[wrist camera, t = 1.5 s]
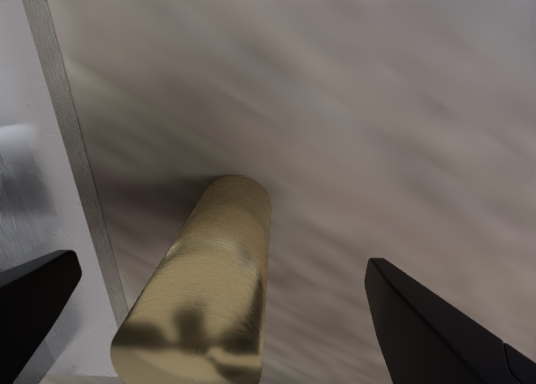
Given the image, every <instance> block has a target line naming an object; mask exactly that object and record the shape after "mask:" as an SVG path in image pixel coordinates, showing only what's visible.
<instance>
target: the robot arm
mask: <svg viewBox="0 0 536 384" xmlns="http://www.w3.org/2000/svg"><path fill="white" fill-rule="evenodd" d="M81 277H82V269H81V266H80V263H79V260H78V257H77V254H76V252H75V251H73V250H64V249H60V250H56V251H54V252H51V253H49V254H46V255H44V256H41V257H39V258H36V259H33V260H31V261H28V262H26V263H23V264H21V265H18V266H16V267H13V268H11V269H8V270H6V271H3V272H0V384H13V383H14V381H15V380H16V379H17V377H18V376H19V374H20V373H21V371H22V370H23V369H24V367H25V366H26V364H27V363H28V362H29V360H30V359H31V357H32V356H33V354H34V353H35V352H36V350H37V349H38V347H39V346H40V345H41V343H42V342H43V340H44V339H45V337H46V336H47V335H48V333H49V332H50V330H51V329H52V327H53V326H54V324H55V322H56V321H57V319H58V318H59V316H60V314H61V312H62V311H63V309H64V307H65V306H66V304H67V302H68V300H69V299H70V297H71V295H72V293H73V292H74V290H75V288H76V287H77V285H78V283H79V281H80V280H81ZM365 290H366V294H367V298H368V302H369V307H370V311H371V315H372V319H373V324H374V328H375V332H376V336H377V339H378V342H379V345H380V348H381V351H382V354H383V356H384V359H385V362H386V365H387V368H388V371H389V373H390V376H391V379H392V382H393V384H536V363H535V362H533V361H532V360H530V359H529V358H527V357H526V356H525V355H523V354H522V353H520V352H519V351H517V350H516V349H514V348H513V347H512V346H510V345H509V344H507V343H503V341H502V340H501V339H500V338H498V337H497V336H496V335H494V334H493V333H491V332H490V331H488V330H487V329H485V328H484V327H483V326H481V325H480V324H478V323H477V322H475V321H474V320H472V319H471V318H470V317H468V316H467V315H465V314H464V313H462V312H461V311H459V310H458V309H457V308H455V307H454V306H452V305H451V304H449V303H448V302H446V301H445V300H444V299H442V298H441V297H439V296H438V295H436V294H435V293H433V292H432V291H431V290H429V289H428V288H426V287H425V286H423V285H422V284H420V283H419V282H418V281H416V280H415V279H413V278H412V277H410V276H409V275H407V274H406V273H405V272H403V271H402V270H400V269H399V268H397V267H396V266H394V265H393V264H392V263H390V262H389V261H387V260H386V259H384V258H370V259H369V260H368V264H367V269H366V275H365Z"/></svg>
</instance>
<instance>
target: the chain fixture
mask: <svg viewBox="0 0 536 384" xmlns="http://www.w3.org/2000/svg"><path fill="white" fill-rule="evenodd" d="M60 249H64V250H73V251H75V252H76V254H77V257H78V260H79V263H80V266H81V269H82V277H81V280H80V281H79V283H78V285H77V287H76V288H75V290H74V292H73V293H72V295H71V297H70V299H69V300H68V302H67V304H66V306H65V307H64V309H63V311H62V312H61V314H60V316H59V318H58V319H57V321H56V322H55V324H54V326H53V327H52V329H51V330H50V332H49V333H48V335H47V336H46V337H45V339H44V340H43V342H42V343H41V345H40V346H39V347H38V349H37V350H36V352H35V353H34V354H33V356H32V357H31V359H30V360H29V362H28V363H27V364H26V366H25V367H24V369H23V370H22V371H21V373H20V374H19V376H18V377H17V379H16V380H15V381H14V383H13V384H39V383H40V381H41V380H42V379H43V377H44V376H45V375H46V374H63V375H87V376H111V377H119V376H118V375H117V373H116V371H115V370H114V367H113V365H112V362H111V358H110V347H111V342H112V340H113V337H114V335H115V334H116V332H117V331H118V329H119V328H120V326H121V324H122V323H123V321H124V320H125V318H126V316H127V315H128V311H127V307H126V303H125V299H124V296H123V292H122V288H121V284H120V280H119V277H118V273H117V269H116V265H115V261H114V258H113V254H112V250H111V246H110V242H109V239H108V235H107V231H106V227H105V223H104V220H103V216H102V212H101V208H100V204H99V201H98V197H97V193H96V189H95V185H94V182H93V178H92V174H91V170H90V166H89V163H88V159H87V155H86V151H85V147H84V144H83V140H82V136H81V132H80V128H79V125H78V121H77V117H76V113H75V109H74V106H73V102H72V98H71V94H70V90H69V87H68V83H67V79H66V75H65V71H64V68H63V64H62V60H61V56H60V52H59V49H58V45H57V41H56V37H55V33H54V30H53V26H52V22H51V18H50V14H49V11H48V7H47V3H46V0H0V272H3V271H6V270H8V269H11V268H13V267H16V266H18V265H21V264H23V263H26V262H28V261H31V260H33V259H36V258H39V257H41V256H44V255H46V254H49V253H51V252H54V251H56V250H60Z"/></svg>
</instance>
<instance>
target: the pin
mask: <svg viewBox="0 0 536 384" xmlns="http://www.w3.org/2000/svg"><path fill="white" fill-rule="evenodd" d="M270 221H271V202H270V199H269V196H268V194H267V192H266V191H265V189H264V188H263V187H262V186H261V185H260V184H259V183H257V182H256V181H254V180H253V179H250V178H248V177H245V176H241V175H228V176H224V177H221V178H219V179H217V180H215V181H214V182H212V183H211V184H210V185H209V186H208V187H207V189H206V190H205V192H204V194H203V195H202V197H201V198H200V200H199V202H198V203H197V205H196V206H195V208H194V210H193V211H192V213H191V214H190V216H189V218H188V219H187V221H186V222H185V224H184V226H183V227H182V229H181V230H180V232H179V233H178V235H177V237H176V238H175V240H174V241H173V243H172V245H171V246H170V248H169V249H168V251H167V253H166V254H165V256H164V257H163V259H162V261H161V262H160V264H159V265H158V267H157V269H156V270H155V272H154V273H153V275H152V277H151V278H150V280H149V281H148V283H147V284H146V286H145V288H144V289H143V291H142V292H141V294H140V296H139V297H138V299H137V300H136V302H135V304H134V305H133V307H132V308H131V310H130V312H129V313H128V315H127V316H126V318H125V320H124V321H123V323H122V324H121V326H120V328H119V329H118V331H117V332H116V334H115V335H114V337H113V340H112V342H111V347H110V358H111V362H112V365H113V367H114V370H115V371H116V373H117V375H118V376H119V377H120V379H121V380H122V381H123V382H124V383H125V384H258V383H259V381H260V378H261V371H262V355H263V339H264V322H265V305H266V288H267V272H268V255H269V238H270Z"/></svg>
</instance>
